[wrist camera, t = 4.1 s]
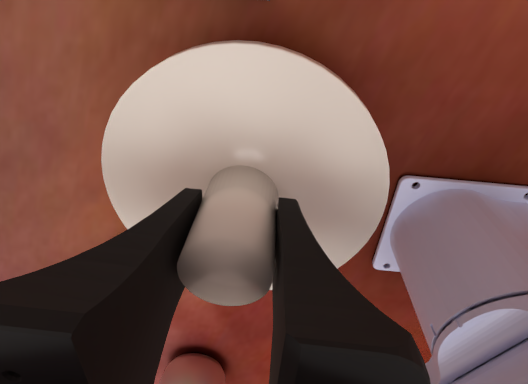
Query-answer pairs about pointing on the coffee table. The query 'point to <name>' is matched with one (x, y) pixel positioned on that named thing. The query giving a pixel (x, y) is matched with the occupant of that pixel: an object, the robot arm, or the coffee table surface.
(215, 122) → the lid
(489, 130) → the coffee table surface
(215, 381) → the plastic bottle
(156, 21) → the coffee table surface
